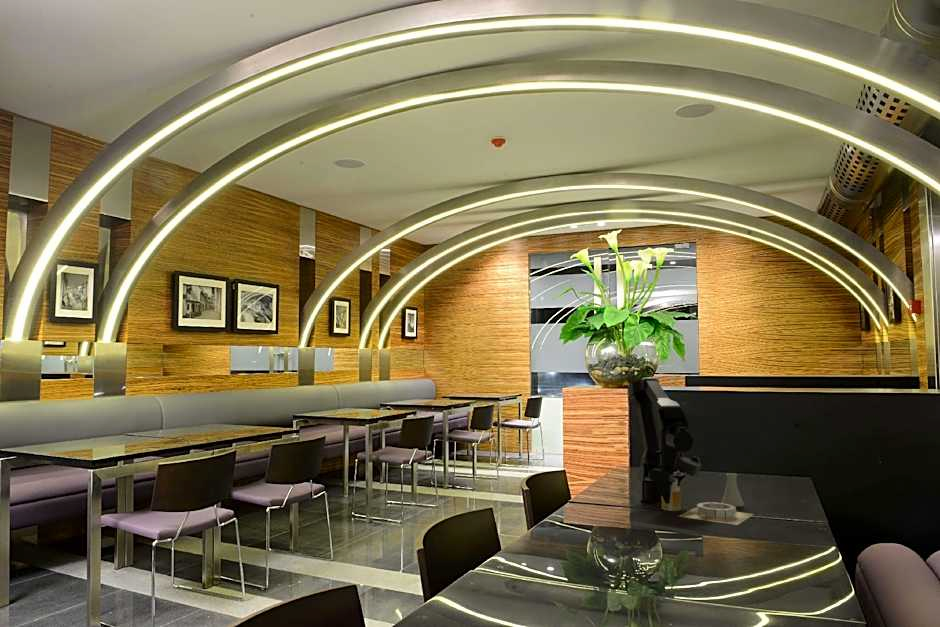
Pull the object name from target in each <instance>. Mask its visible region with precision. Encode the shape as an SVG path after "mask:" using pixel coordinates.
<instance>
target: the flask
mask: <svg viewBox="0 0 940 627" xmlns="http://www.w3.org/2000/svg"><path fill="white" fill-rule="evenodd" d="M725 476H726V486H725V490H724V494H723V496H722V500H721V502H720V503H724V504H729V505H733V506H735V507H736V508H738V507H744V505H745V503H744V501H743V499H742V496H741V493H740V490H739V487H738V484H737V477H738V474H737V473H733V472H732V473H730V472H729V473H728V472H727V473H725Z"/></svg>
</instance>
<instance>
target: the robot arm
mask: <svg viewBox="0 0 940 627" xmlns="http://www.w3.org/2000/svg"><path fill="white" fill-rule="evenodd" d="M659 380H660V379H659V378H657V377H643V378H641V379H638V380H636V381H633V382H631V383H629V385H628V387H627V395H628V396H629V399H630V402H631V404H632V405H633V406H634V408H636V411H637V416H638V421H639V422H638V423H639V427H640V433H641V438H642V439H641V440H642V445H643V446H642V447H643V450H644V451H643V454H642V456H641V459H640V465H639V468H638V471H637V473H636V476H637V481H638V482H640V483H641V499H639V502H641V503H649V504H656V503H658V502H662V499H661V495H662V497H663V499H664V501H665V503H669V502H670V495H671V486H672V484H673V483H675V482H676V480H673V478H677V479H678V484H677V486H679V487H680V488H681V486H682V483H683V481H684V480H685V479H687V478H688V476H691V477H695V476H698V475H699V474H700V470H701V469H702V468H703V466H702V463H701V459H700V458H699V457H697V456H693V457H692V458H690V457H686V456H684V454H685V453H686V452H689V451H690V450H691V449H692V448H693V445H694V439H693V437H692V435H691V434H690V433H689V432H687V430H688V429H689V421H688V418H687V417H686V416H687V415H686V414H685V411H684V409H683V407H682V406H681V405H680V404H679V403H678V402H677V401H676V400H672V399H670V397H669V396H668V395H667V393H666V392H665V390H664V389H663V387H662V386H661V385H660V381H659ZM652 405H653V406H652ZM653 407H654V408H655V410H654V412H653ZM655 420H656V423H657V425H658V428H657V429H658V431H659V440H658V434H657V429H656V423H655ZM684 473H685V474H686V475H685V474H684Z"/></svg>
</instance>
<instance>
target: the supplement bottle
mask: <svg viewBox="0 0 940 627" xmlns="http://www.w3.org/2000/svg"><path fill="white" fill-rule="evenodd" d="M673 480H676V482H675V483H673V484H672V486H671V495H670V502H669V503H665V501H664V499H663V497H662V495H661V499H662V501H661V510H664V511H668V512H679V511H681V510H682V506H681V505H682V504H681V503H682V502H681V501H682V500H681V499H682V498H681V496H682V495H681V494H682V493H681V486H680V487H679V486H677V484H678V479H677V478H673Z"/></svg>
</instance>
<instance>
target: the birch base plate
mask: <svg viewBox="0 0 940 627" xmlns="http://www.w3.org/2000/svg"><path fill="white" fill-rule="evenodd" d="M754 515H755V513H748V512H743V511H741V512H740V511H736V517H735V518H734V519H711V518H705V517H702V516H699V515H698V514H697V506H696V507H694V508H691V509H689V510H687V511H685V512H684V513H681V514H680V515H678V516H677V517H679V518H687V519H693V520H700V521H708V522H714V523H719V524H720V523H721V524H725V525H727V524H728V525H734V526H738V525H740V524H742V523H743V522H745V521H746V520H748V519H749V518H751V517H753V516H754Z"/></svg>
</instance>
